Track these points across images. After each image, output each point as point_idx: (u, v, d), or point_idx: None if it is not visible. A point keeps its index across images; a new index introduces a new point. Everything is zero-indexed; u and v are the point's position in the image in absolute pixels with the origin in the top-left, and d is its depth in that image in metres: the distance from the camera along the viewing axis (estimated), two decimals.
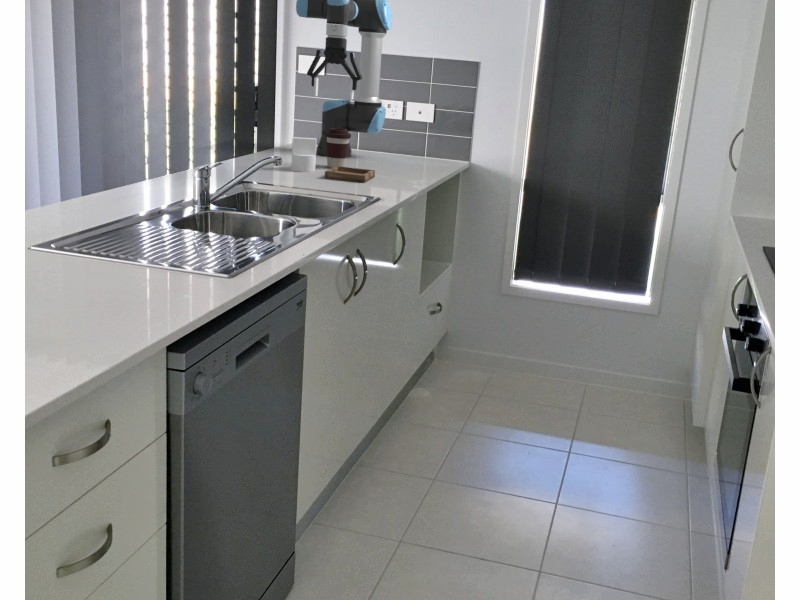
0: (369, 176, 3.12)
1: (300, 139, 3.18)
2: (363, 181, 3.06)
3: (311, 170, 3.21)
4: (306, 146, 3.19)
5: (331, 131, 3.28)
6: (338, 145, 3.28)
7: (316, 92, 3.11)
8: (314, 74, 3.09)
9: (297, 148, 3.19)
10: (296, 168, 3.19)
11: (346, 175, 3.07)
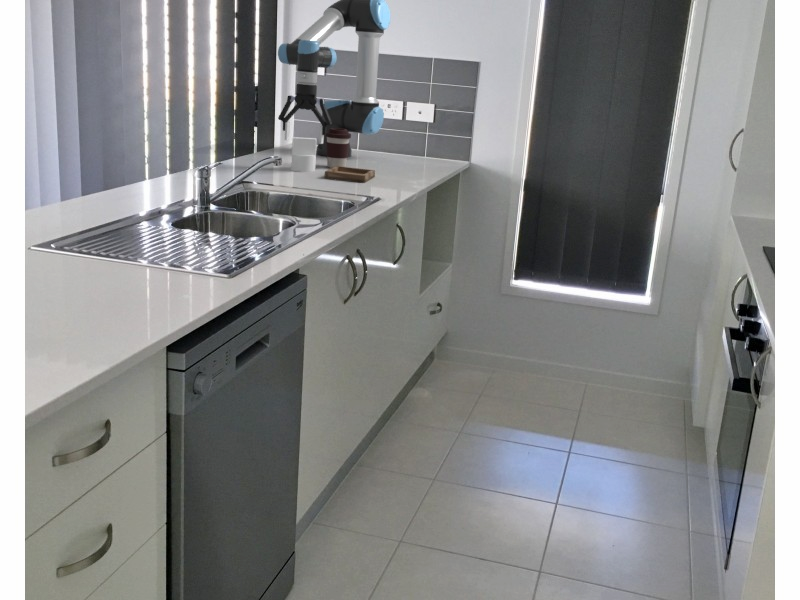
0: (369, 176, 3.12)
1: (300, 139, 3.18)
2: (363, 181, 3.06)
3: (311, 170, 3.21)
4: (306, 146, 3.19)
5: (331, 131, 3.28)
6: (338, 145, 3.28)
7: (287, 136, 3.20)
8: (285, 119, 3.18)
9: (297, 148, 3.19)
10: (296, 168, 3.19)
11: (346, 175, 3.07)
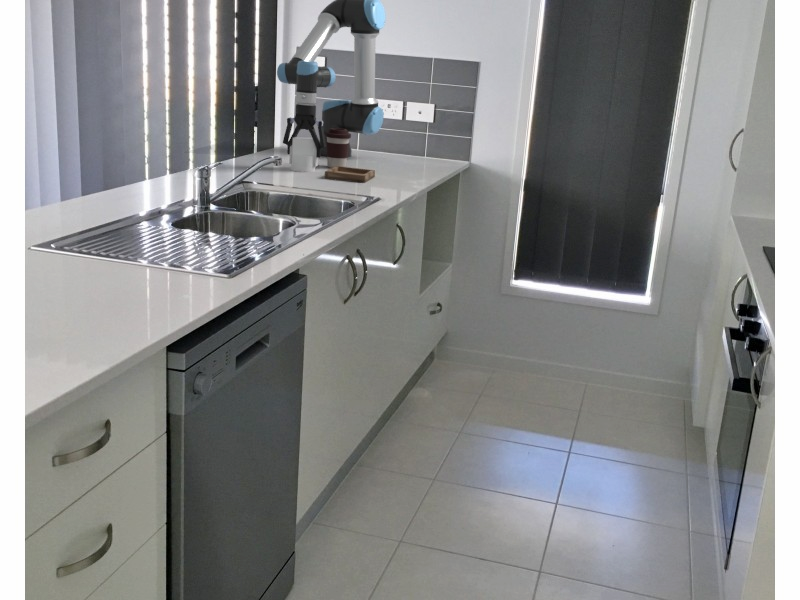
0: (369, 176, 3.12)
1: (300, 139, 3.18)
2: (363, 181, 3.06)
3: (311, 170, 3.21)
4: (306, 146, 3.19)
5: (331, 131, 3.28)
6: (338, 145, 3.28)
7: None
8: (289, 142, 3.20)
9: (297, 148, 3.19)
10: (296, 168, 3.19)
11: (346, 175, 3.07)
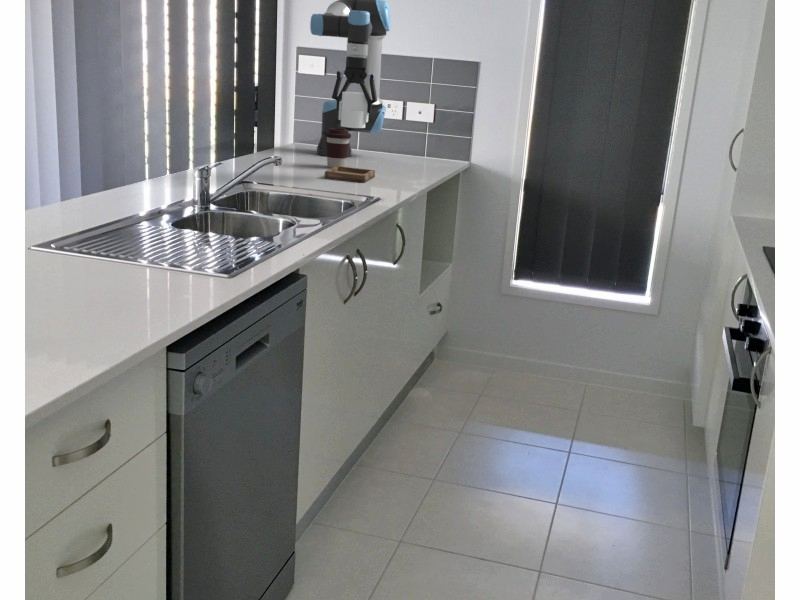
0: (369, 176, 3.12)
1: (350, 93, 3.04)
2: (363, 181, 3.06)
3: (361, 126, 3.06)
4: (356, 101, 3.05)
5: (331, 131, 3.28)
6: (338, 145, 3.28)
7: None
8: (339, 97, 3.06)
9: (347, 103, 3.04)
10: (346, 124, 3.05)
11: (346, 175, 3.07)
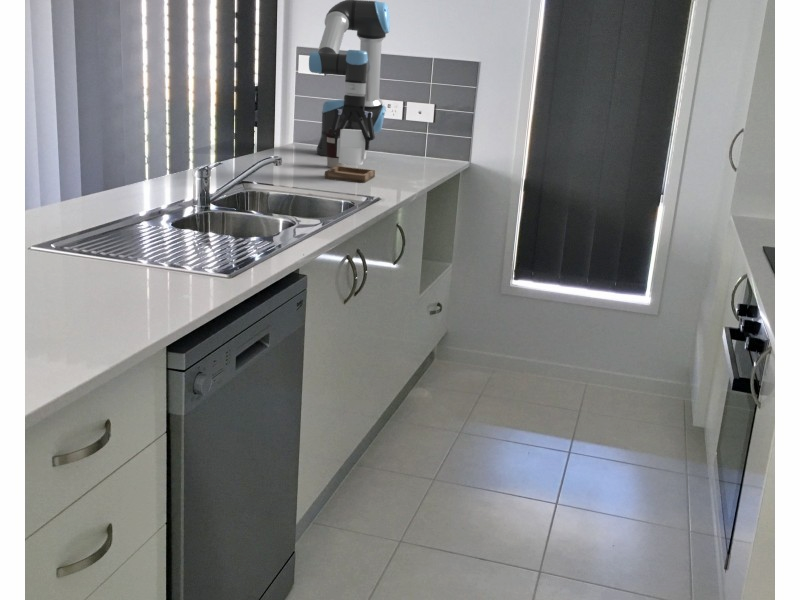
0: (369, 176, 3.12)
1: (348, 131, 3.08)
2: (363, 181, 3.06)
3: (359, 163, 3.10)
4: (354, 138, 3.09)
5: None
6: None
7: None
8: (337, 135, 3.10)
9: (345, 140, 3.08)
10: (344, 161, 3.09)
11: (346, 175, 3.07)
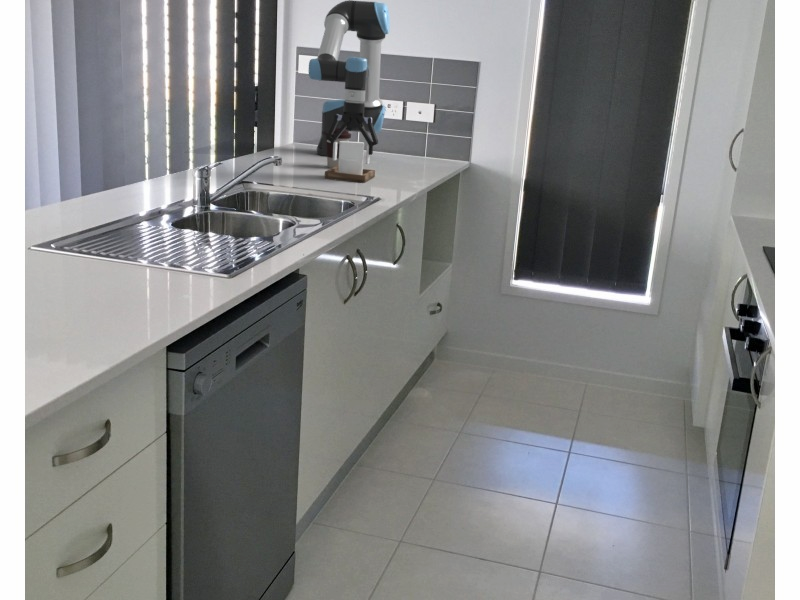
0: (369, 176, 3.12)
1: (348, 143, 3.09)
2: (363, 181, 3.06)
3: None
4: (354, 150, 3.10)
5: None
6: (338, 145, 3.28)
7: (335, 156, 3.13)
8: (333, 139, 3.11)
9: (344, 152, 3.10)
10: None
11: (346, 175, 3.07)
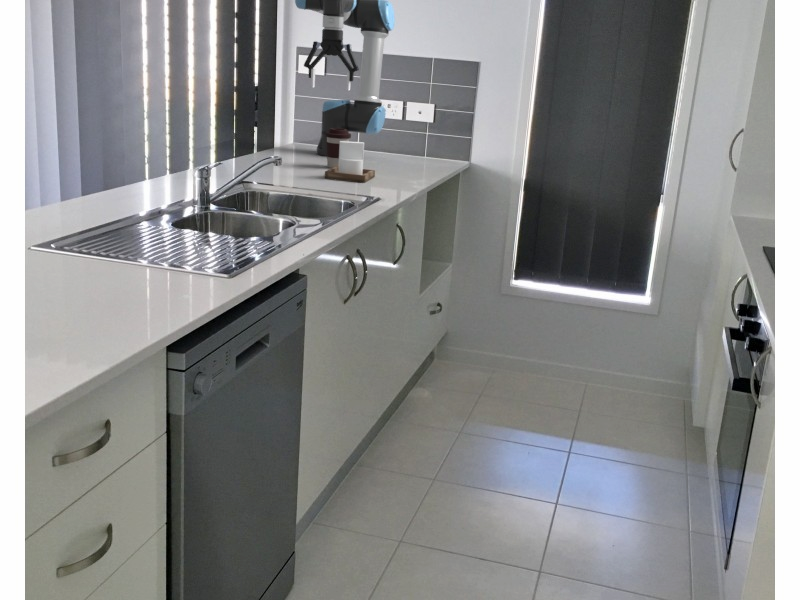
0: (369, 176, 3.12)
1: (348, 143, 3.09)
2: (363, 181, 3.06)
3: None
4: (354, 150, 3.10)
5: (331, 131, 3.28)
6: (338, 145, 3.28)
7: (313, 83, 3.15)
8: (311, 66, 3.12)
9: (344, 152, 3.10)
10: None
11: (346, 175, 3.07)
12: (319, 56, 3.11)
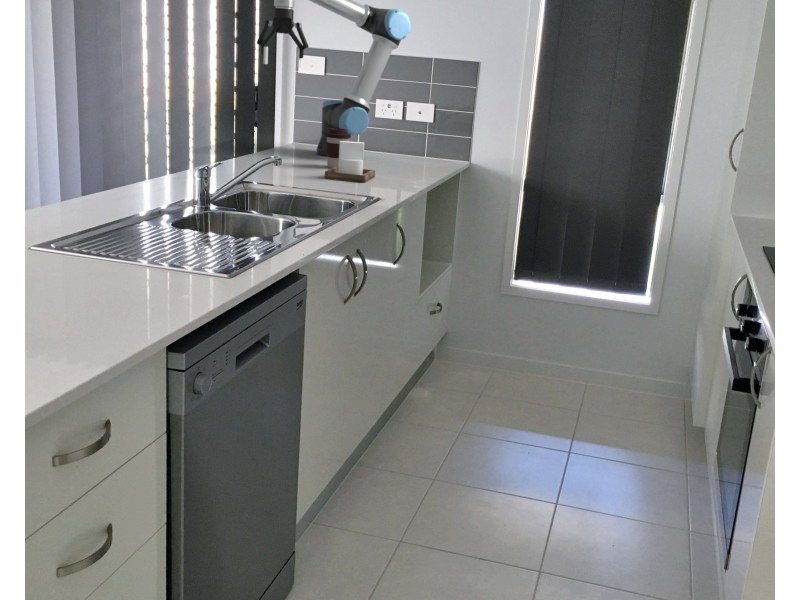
0: (369, 176, 3.12)
1: (348, 143, 3.09)
2: (363, 181, 3.06)
3: None
4: (354, 150, 3.10)
5: (331, 131, 3.28)
6: (338, 145, 3.28)
7: (266, 60, 3.32)
8: (263, 43, 3.29)
9: (344, 152, 3.10)
10: None
11: (346, 175, 3.07)
12: (271, 34, 3.27)
